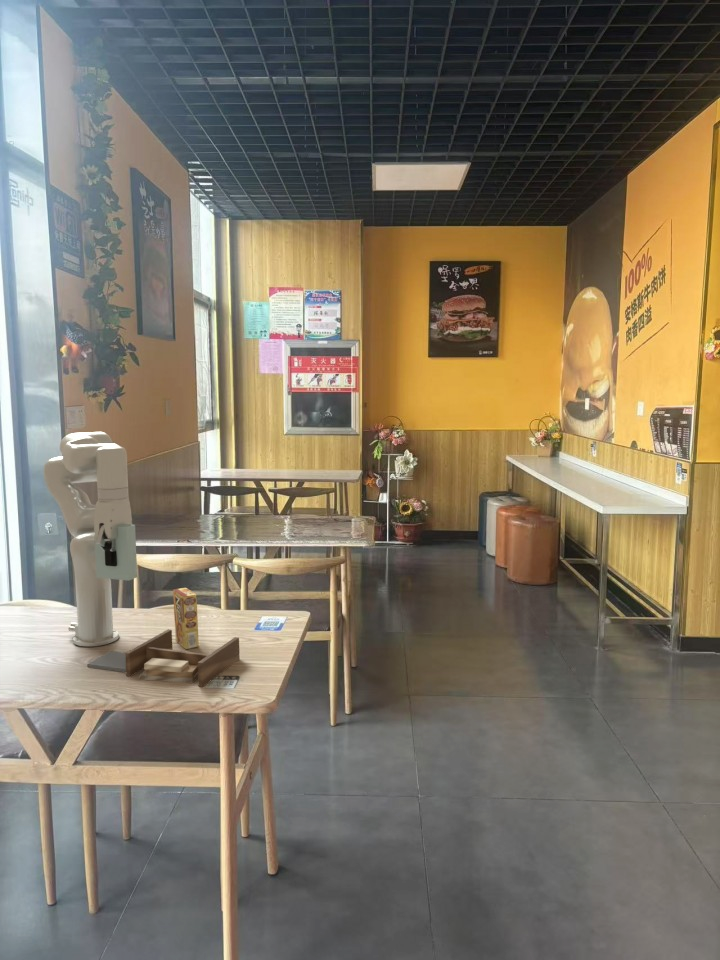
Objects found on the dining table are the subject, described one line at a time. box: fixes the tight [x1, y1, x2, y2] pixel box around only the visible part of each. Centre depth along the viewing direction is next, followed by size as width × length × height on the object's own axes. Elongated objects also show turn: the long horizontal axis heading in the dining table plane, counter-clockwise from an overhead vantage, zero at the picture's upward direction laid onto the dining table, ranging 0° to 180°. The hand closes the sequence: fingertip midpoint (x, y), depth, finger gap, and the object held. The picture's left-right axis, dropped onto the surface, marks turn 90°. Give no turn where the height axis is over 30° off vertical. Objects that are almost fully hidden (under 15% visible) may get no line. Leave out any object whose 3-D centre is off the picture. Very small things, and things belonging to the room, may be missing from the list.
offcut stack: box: [139, 658, 198, 684], centre depth 181 cm, size 14×5×4 cm, turn 80°
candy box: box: [172, 587, 199, 650], centre depth 204 cm, size 9×4×15 cm, turn 33°
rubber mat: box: [86, 650, 126, 673], centre depth 191 cm, size 13×10×1 cm
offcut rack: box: [125, 629, 241, 688], centre depth 187 cm, size 22×19×6 cm
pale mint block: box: [94, 523, 138, 581], centre depth 187 cm, size 10×4×14 cm, turn 72°
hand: (116, 563), depth 188 cm, fingers closed on pale mint block, 3 cm apart
